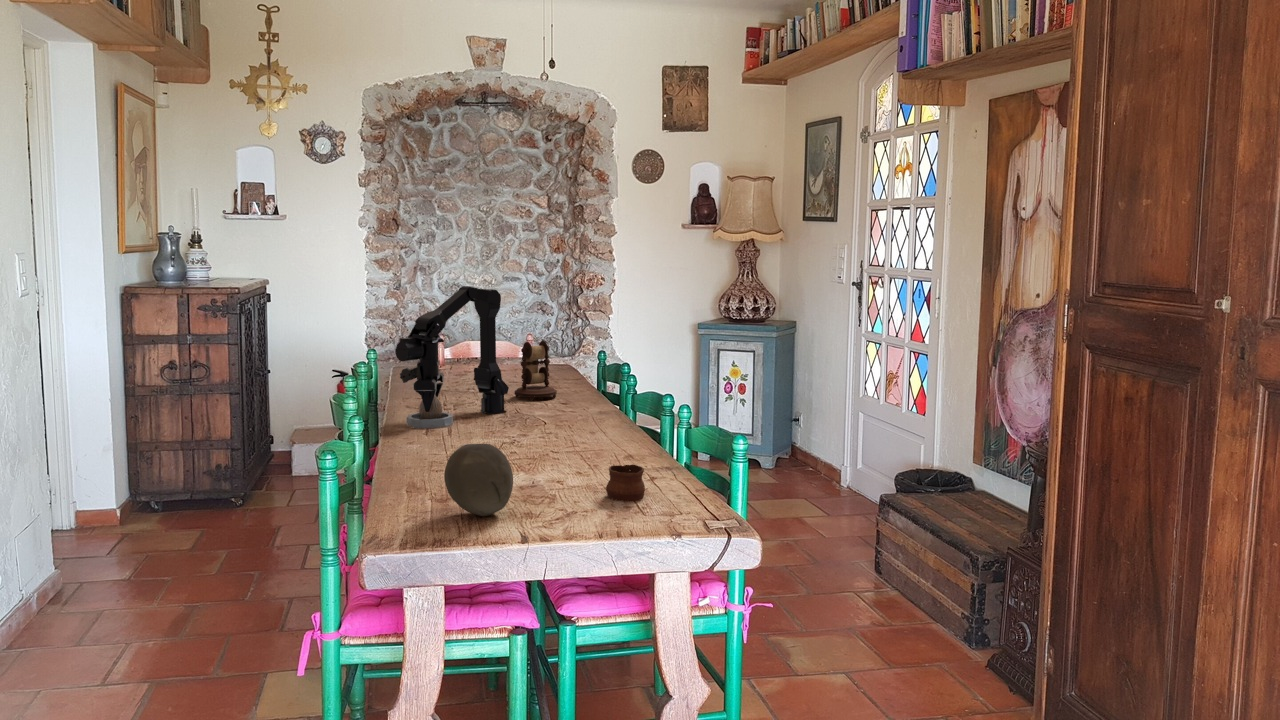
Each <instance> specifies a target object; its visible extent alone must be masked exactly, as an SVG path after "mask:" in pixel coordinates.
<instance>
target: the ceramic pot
mask: <svg viewBox="0 0 1280 720" xmlns="http://www.w3.org/2000/svg"><path fill="white" fill-rule="evenodd" d="M608 472H609V473H608V474H609V479H608V482H607V483H606V487H605V491H606V495H607V497H608V498H609V500H613V501H615V502H616V501H617V502H638V501H641V500H643V499H644V498H645V497H644V496H645V491H646V489H645V488H646V487H645V483H644V482H645V481H643V474H644V472H645V468H644V467H643V466H640V465H637V464H634V463H632V464H625V465H616V464H615V465H614V464H613V465H611V466H609V467H608Z"/></svg>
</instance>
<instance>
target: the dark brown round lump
mask: <svg viewBox="0 0 1280 720" xmlns="http://www.w3.org/2000/svg"><path fill="white" fill-rule="evenodd" d="M444 468H445V469H444V473H443V475H444V476H443V478H444V485H445V487H446V490H447V493H448V494H449V497H450V498H451V499H452V500H453V501H454V502H455V503H456V504H457V505H458V507H459V508H461V509H462V510H463V511H466V512H468V513H471V514H473V515H476V516H479V517H488V516H489V517H490V516H492V515H494V514H496V513H497V512H499V511H501V510H503V509H504V508H505V507H506V506H507V504H508V502H509V500H510V498H511V495H512V492H513V487H514V474H513V469H512V466H511V464H510V461H509V460H508V458H507V457H506V455H505V454H504V453H503V452H502V451H501V450H500V449H499V448H498V447H496V446H494V445H493V444H490V443H468V444H464V445H462V446H460V447H459V448H457V449H456V450H455V451H454V452H453V453H452V454H451V455H450V456H449V458H448V459H447V463H446V465H445V467H444Z"/></svg>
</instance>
